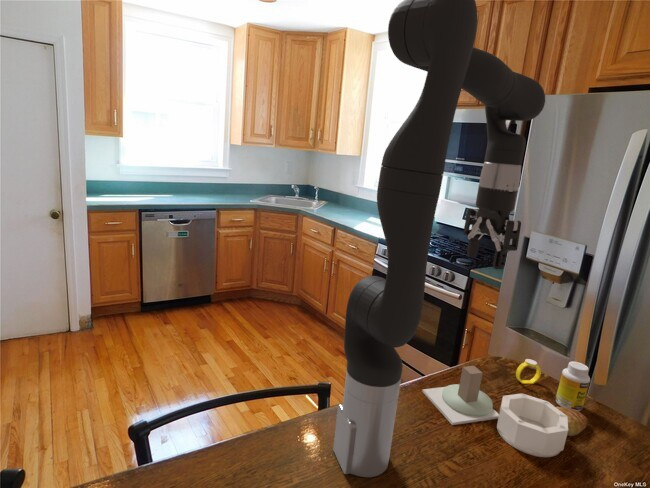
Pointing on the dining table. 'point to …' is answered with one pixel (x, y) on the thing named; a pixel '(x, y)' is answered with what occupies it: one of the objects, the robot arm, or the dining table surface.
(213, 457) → the dining table surface
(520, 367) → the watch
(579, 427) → the pastry
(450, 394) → the lid
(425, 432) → the dining table surface
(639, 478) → the dining table surface
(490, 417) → the mat
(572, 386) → the supplement bottle
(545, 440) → the bowl
